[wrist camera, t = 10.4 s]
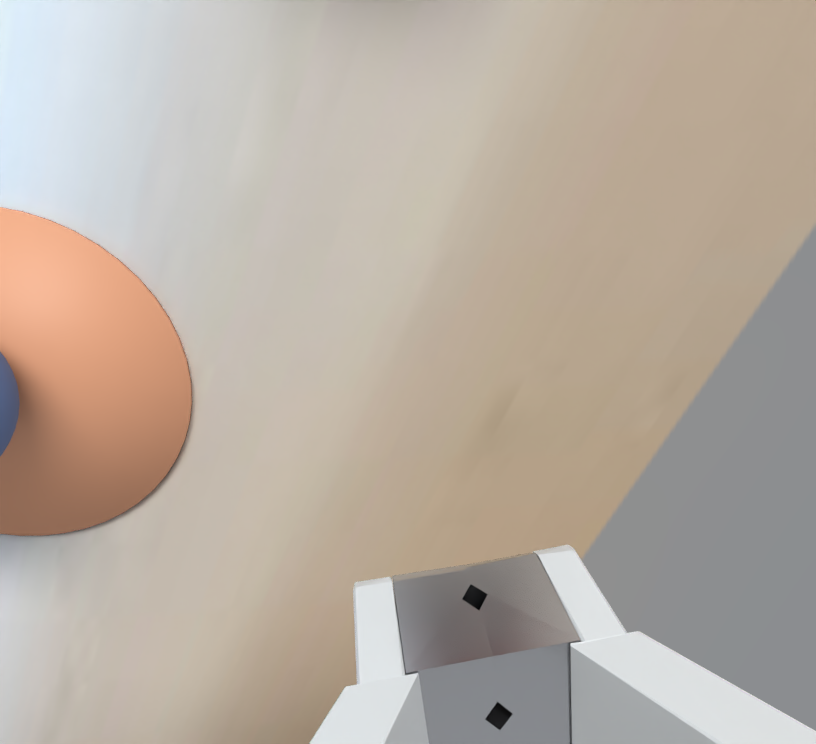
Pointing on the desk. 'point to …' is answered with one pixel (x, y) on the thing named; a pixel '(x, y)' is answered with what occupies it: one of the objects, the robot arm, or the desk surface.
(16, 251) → the disc
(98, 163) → the desk surface
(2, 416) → the ball
